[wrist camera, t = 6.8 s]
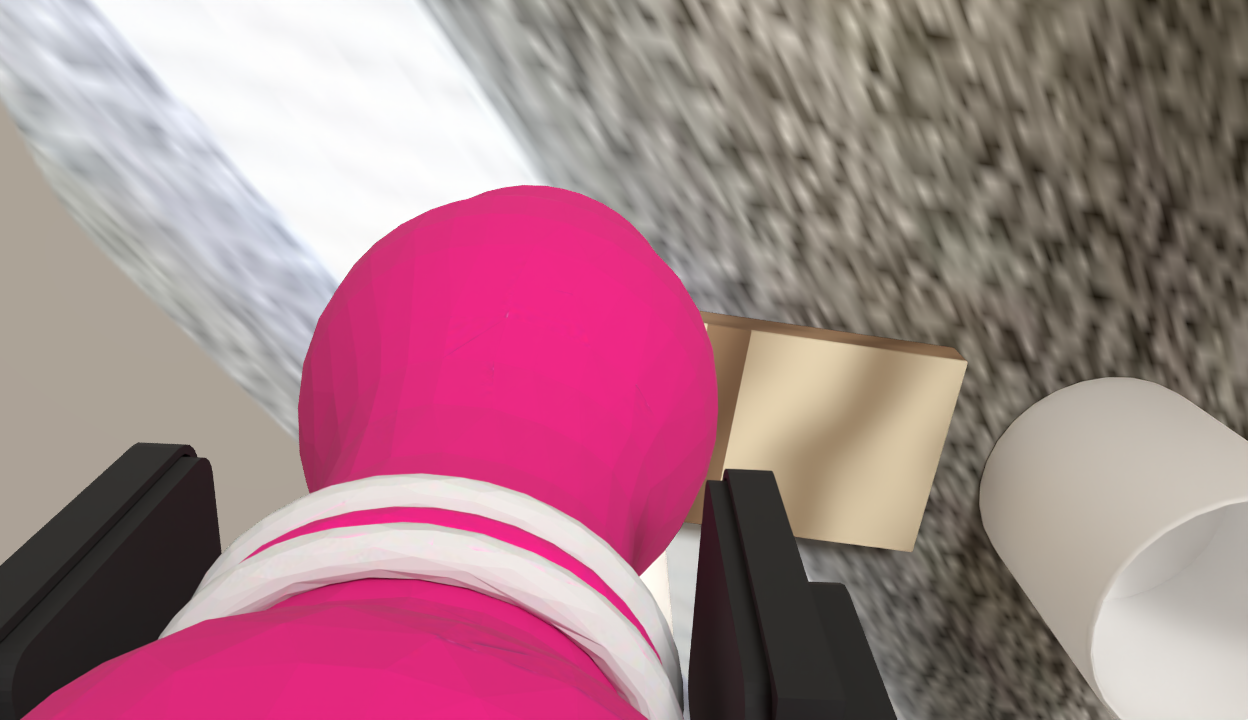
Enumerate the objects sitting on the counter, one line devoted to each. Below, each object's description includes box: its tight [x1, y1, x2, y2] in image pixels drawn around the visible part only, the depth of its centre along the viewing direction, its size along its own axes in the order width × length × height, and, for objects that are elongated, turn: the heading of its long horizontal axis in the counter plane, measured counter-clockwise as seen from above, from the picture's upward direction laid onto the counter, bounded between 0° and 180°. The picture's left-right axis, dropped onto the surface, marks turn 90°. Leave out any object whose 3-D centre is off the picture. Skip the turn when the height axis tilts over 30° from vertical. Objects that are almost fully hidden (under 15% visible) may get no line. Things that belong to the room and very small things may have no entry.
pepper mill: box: [20, 185, 718, 720], centre depth 12 cm, size 7×7×20 cm
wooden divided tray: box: [684, 311, 968, 552], centre depth 46 cm, size 22×10×2 cm, turn 81°
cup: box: [979, 377, 1248, 720], centre depth 43 cm, size 12×12×12 cm
